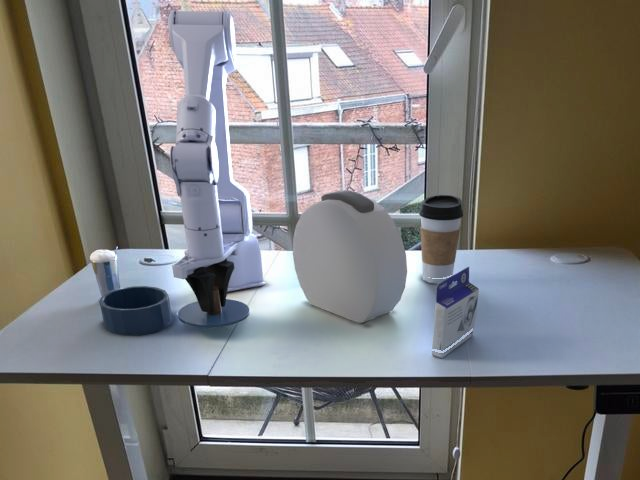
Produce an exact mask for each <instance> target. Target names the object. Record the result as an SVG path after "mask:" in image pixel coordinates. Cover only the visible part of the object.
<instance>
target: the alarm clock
mask: <svg viewBox="0 0 640 480" xmlns="http://www.w3.org/2000/svg"><path fill="white" fill-rule="evenodd" d="M292 237H293V238H292V259H293V265H294V270H295V274H296V277H297V280H298V284H299V286H300V288H301V290H302V292H303V294H304V296H305V299H306V300H307V302H308V303H309V305H311V306H314V307H317V308H319V309H322V310H324V311H327V312H329V313H332V314H335V315H337V316H340V317H342V318H344V319H347V320H350V321H353V322H355V323H357V324H362V323H365V322H368V321H370V320H373V319H376V318H378V317H380V316H381V317H382V316H383V315H386V314H388V313H390V312H392V311H393V310H394V308H395V307H396V306H397V305H398V303H399V302H400V301H401V299H402V296H403V293H404V291H405V288H406V283H407V275H408V266H407V265H408V263H407V253H406V250H405V249H406V248H405V245H404V241H403V237H402V235H401V233H400V231H399V229H398V227H397V225H396V222H395V221H394V220H393V218H392V217H391V215H390V214H389V213H388V211H387V210H386V208H384V207H383V206H382V205H381V204H380V203H379V202H377V201H376V200H375V199H374V198H371V197H369V196H366V195H364V194H362V193H360V192H357V191H354V190H347V189H343V190H336V191H332V192H329V193H325V194H324V193H323V195H322V196H321V199H320V201H318V202H315V203H312V204H310V205H309V206H308V207H307V208H305V210H304V211H302V213H301V215H300V217H299V218H298V220H297V223H296V224H295V228H294V234H293V236H292Z"/></svg>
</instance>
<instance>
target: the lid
mask: <svg viewBox="0 0 640 480" xmlns="http://www.w3.org/2000/svg"><path fill="white" fill-rule="evenodd" d="M213 298H214V312H212V313H207V312H203V311H202V310H201V308H200V305H199V303H198V300H197V301H193V302H189V303H187V304H186V305H184V306H183V307H182V306H181V308H180V309H179V310H178V312H177V318H178V320H179V321H180V322H181V323H182V324H185V325H187V326H190V327H194V328H202V329H217V328H224V327H230V326H233V325H237V324H239V323H241V322H243V321H245V320H246V319H248V318H249V316H250V314H251V309H250V307H249V306H248V305H247V304H246V303H244V302H242V301H239V300H235V299H229V298H226V303H225V306H224V307H221V300H220V292H219V287H217V286H214V288H213Z"/></svg>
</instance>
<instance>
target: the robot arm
mask: <svg viewBox="0 0 640 480" xmlns="http://www.w3.org/2000/svg"><path fill="white" fill-rule="evenodd" d="M234 23H235V22H234V18H233V16H232V14H231V13H230V12H229V10H223V11H201V10H200V11H197V10H196V11H195V10H194V11H193V10H191V11H189V10H176V9H172V10H171V11H170V12H169V14H168V17H167V25H168V26H167V28H168V29H167V30H168V37H169V42H170V46H171V49H172V52H173V53H174V55H175V57H176V59H177V61H178V63H179V64H180V67H181V68H182V70H183V80H184V97H182V98H181V99H179V101H178V103H177V108H176V132H175V135H176V136H175V145H171V146H170V150H169V163H170V169H171V170H170V171H171V174H172V178H173V182H174V184H175V188H176V194H177V197H179V198H180V207H181V213H182V220H183V226H184V232H185V239H186V240H185V241H186V245H187V249H186V250H184V256H183V257H182V258H181V259H180V260H178V261H177V262H176V263H174V264H172V265H171V269H172V274H173V278H176V279H179V280H180V279H181V280H185V281H186V283H187V284H188V286H189V287H190V288H191V290H192V292H193V294H194V296H195V298H196V300H197V301H198V303H199V305H200V308H201V310H202V311H203V312H207V313H212V312H214V298H213V288H214V286H217V287H219V292H220V300H221V307H224V306H225V303H226V299H227V295H228V293H229V292H234V291H238V290H245V289H250V288H256V287H260V286H264V285H265V284H266V282H265V281H264V273H263V263H262V252H261V247H260V243H259V240H258V238H257V236H256V235H255V234H253V213H252V205H251V200H250V194H249V193H248V190H247V189H246V188H245V187H243V186H242V185H241V184H240V183H238V182H237V181H235V180H234V178H233V167H232V155H231V154H232V153H231V142H230V131H229V116H228V115H229V114H228V105H227V103H228V102H227V93H226V91H227V89H226V88H227V86H226V85H227V78H228V75H229V74H231V73H233V72H235V71H236V70H237V62H238V61H237V45H236V30H235V24H234ZM220 198H221V199H220ZM223 198H224V199H223ZM227 198H230V199H227Z"/></svg>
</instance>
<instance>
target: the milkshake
mask: <svg viewBox="0 0 640 480" xmlns="http://www.w3.org/2000/svg"><path fill="white" fill-rule="evenodd" d="M117 252H118V246H116V247H115V252H114V251H113V250H110V249H97V250H94V251H93V252H92V253H91V254H90V256H89V260H90V263H91V266H92V269H93V272H94V275H95V279H96V283H97V285H98V289H99V292H100V296H101V297H102V296H103V295H105V294H106V293H108V292H110V291H113V290H117V289H120V288H121V281H120V273H119V266H118V255H117V254H118V253H117Z"/></svg>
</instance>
